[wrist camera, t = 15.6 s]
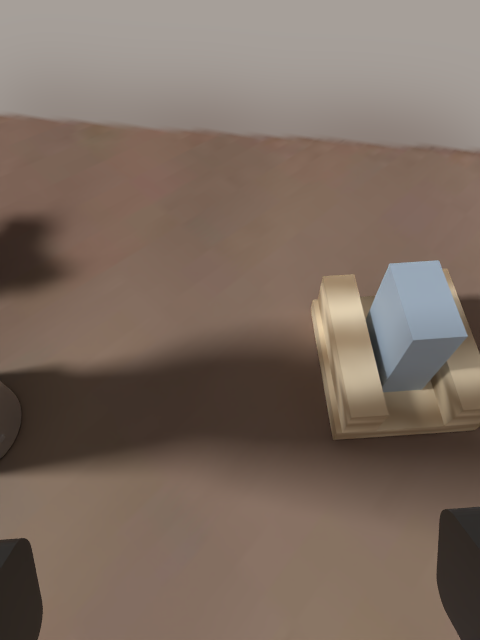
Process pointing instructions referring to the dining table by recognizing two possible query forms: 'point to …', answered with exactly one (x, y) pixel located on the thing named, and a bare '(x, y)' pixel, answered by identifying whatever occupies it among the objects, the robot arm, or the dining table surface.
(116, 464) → the dining table surface
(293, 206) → the dining table surface
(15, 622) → the robot arm
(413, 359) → the rectangular block
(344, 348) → the slotted block
